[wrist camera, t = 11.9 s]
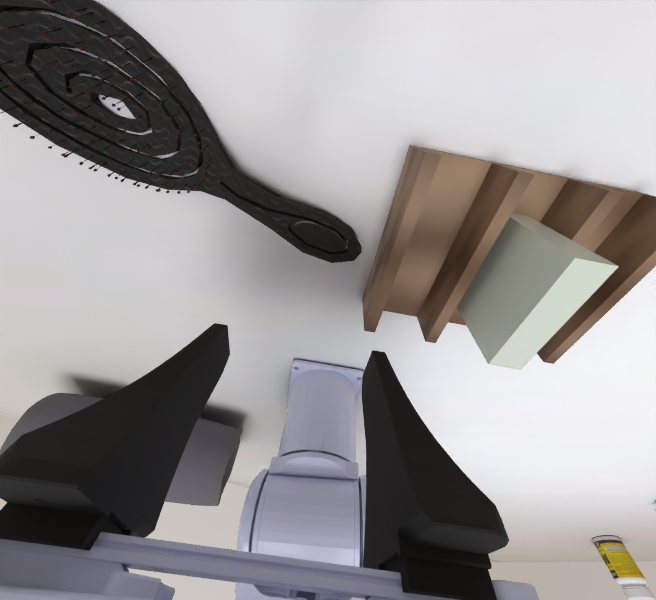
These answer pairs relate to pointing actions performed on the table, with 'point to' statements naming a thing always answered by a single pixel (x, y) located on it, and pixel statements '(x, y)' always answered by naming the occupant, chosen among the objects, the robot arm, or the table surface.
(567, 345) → the dish rack
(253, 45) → the table surface
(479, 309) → the pale green box
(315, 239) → the hairbrush
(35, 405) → the bluetooth speaker
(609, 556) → the supplement bottle
